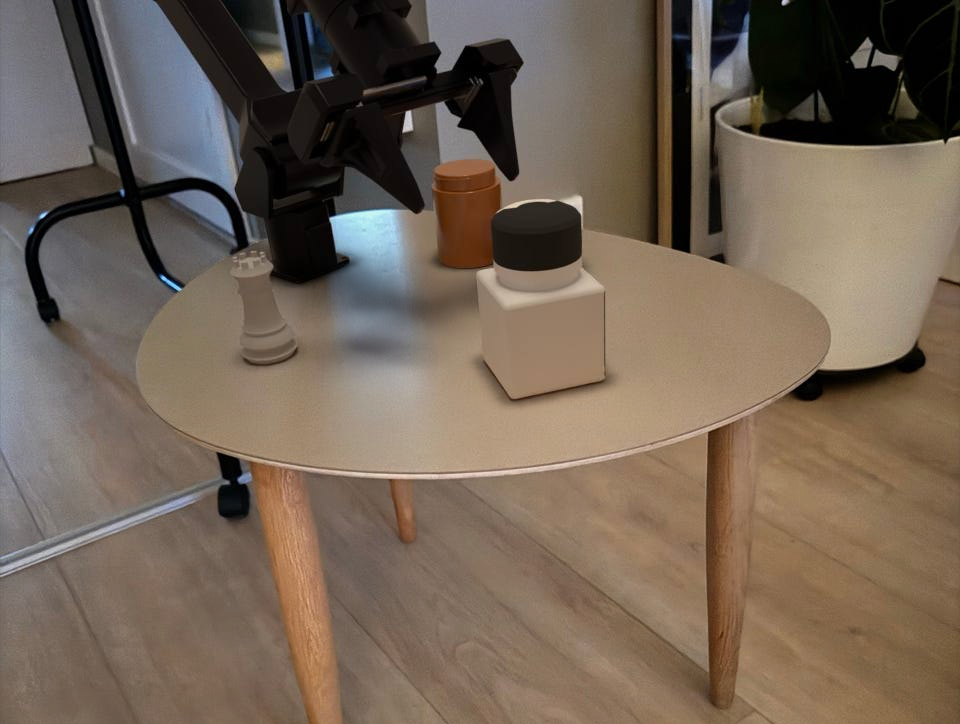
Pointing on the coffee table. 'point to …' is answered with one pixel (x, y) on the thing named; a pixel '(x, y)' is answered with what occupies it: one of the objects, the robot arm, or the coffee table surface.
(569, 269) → the medicine bottle
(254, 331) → the rook chess piece
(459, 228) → the jar
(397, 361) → the coffee table surface
